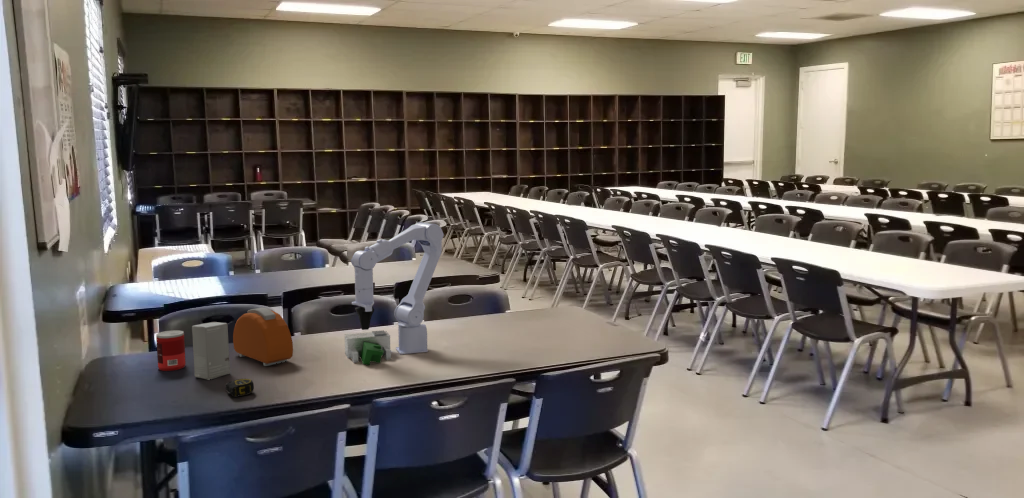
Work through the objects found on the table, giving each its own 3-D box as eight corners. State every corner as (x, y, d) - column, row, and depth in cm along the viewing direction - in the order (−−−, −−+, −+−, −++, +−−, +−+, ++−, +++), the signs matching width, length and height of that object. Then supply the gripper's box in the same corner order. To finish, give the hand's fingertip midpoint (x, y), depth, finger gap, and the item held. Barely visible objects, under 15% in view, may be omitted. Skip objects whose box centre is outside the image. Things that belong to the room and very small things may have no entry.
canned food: (191, 365, 237) (189, 331, 236) (172, 372, 230) (170, 337, 228) (171, 363, 240) (169, 329, 238) (152, 369, 232) (150, 335, 231)
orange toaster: (294, 363, 240) (292, 311, 238) (268, 369, 234) (266, 316, 232) (257, 350, 256) (255, 301, 254) (232, 355, 250) (230, 305, 248)
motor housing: (386, 349, 257) (386, 329, 256) (394, 359, 245) (393, 338, 244) (345, 353, 252) (344, 332, 251) (350, 363, 240) (349, 341, 239)
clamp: (377, 376, 241) (384, 355, 237) (360, 373, 239) (367, 352, 235) (376, 354, 250) (383, 334, 247) (360, 351, 248) (366, 331, 245)
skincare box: (208, 380, 221) (206, 328, 219) (192, 377, 225) (189, 325, 223) (232, 373, 229) (229, 322, 227) (215, 370, 232) (213, 319, 230)
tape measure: (225, 393, 210) (224, 380, 210) (250, 389, 214) (249, 376, 214) (231, 400, 205) (230, 386, 204) (257, 395, 209) (256, 382, 208)
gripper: (347, 285, 248) (348, 325, 249) (355, 292, 234) (356, 335, 236) (369, 283, 250) (370, 323, 252) (378, 291, 237) (379, 333, 238)
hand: (365, 329), depth 244 cm, fingers closed
